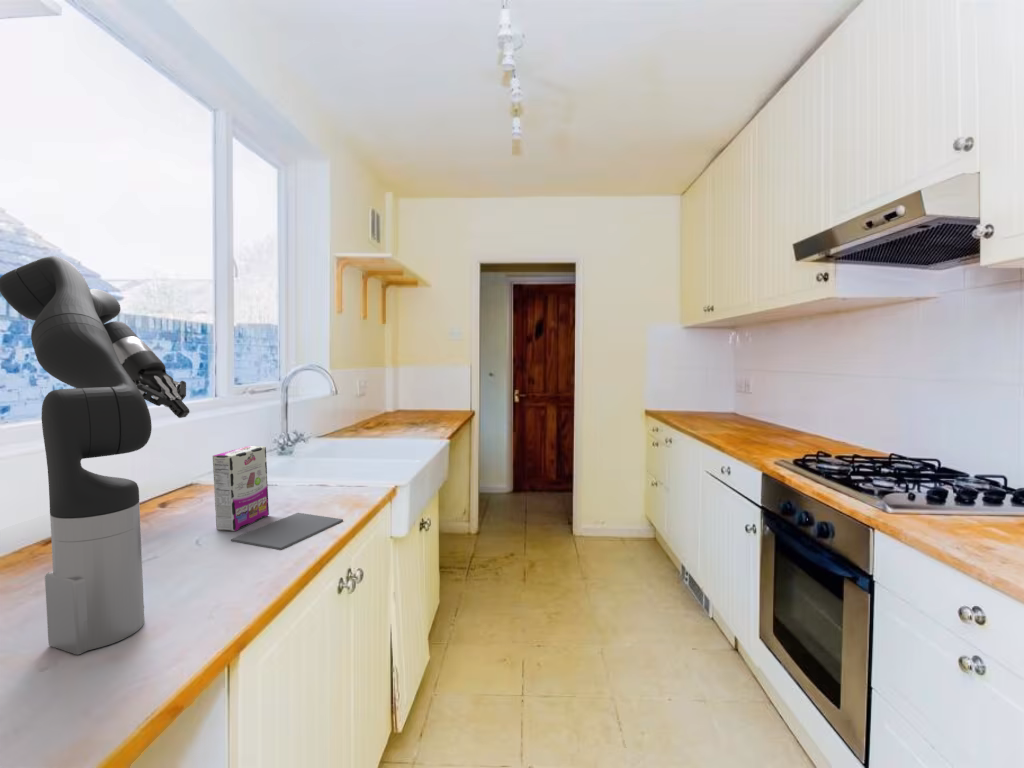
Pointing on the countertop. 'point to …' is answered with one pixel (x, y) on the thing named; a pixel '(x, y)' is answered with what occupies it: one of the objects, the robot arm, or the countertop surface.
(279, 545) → the mat
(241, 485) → the candy bar box
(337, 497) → the countertop surface
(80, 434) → the robot arm
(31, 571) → the countertop surface
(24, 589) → the countertop surface
